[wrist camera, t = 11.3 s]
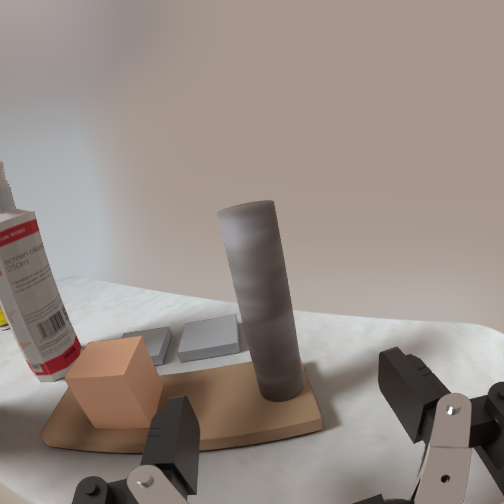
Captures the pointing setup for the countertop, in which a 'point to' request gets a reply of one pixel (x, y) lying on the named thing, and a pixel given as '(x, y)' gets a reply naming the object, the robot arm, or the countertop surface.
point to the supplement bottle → (3, 320)
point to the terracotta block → (116, 383)
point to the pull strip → (235, 376)
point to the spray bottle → (32, 294)
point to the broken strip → (194, 340)
